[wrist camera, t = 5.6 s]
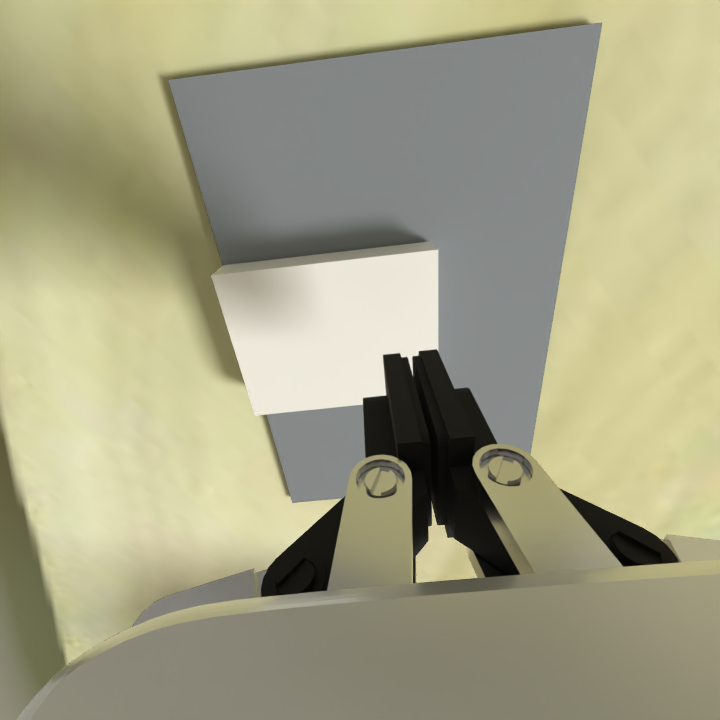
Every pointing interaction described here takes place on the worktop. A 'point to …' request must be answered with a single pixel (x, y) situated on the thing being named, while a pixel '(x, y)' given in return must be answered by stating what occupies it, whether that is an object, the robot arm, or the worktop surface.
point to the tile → (328, 322)
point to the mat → (408, 201)
